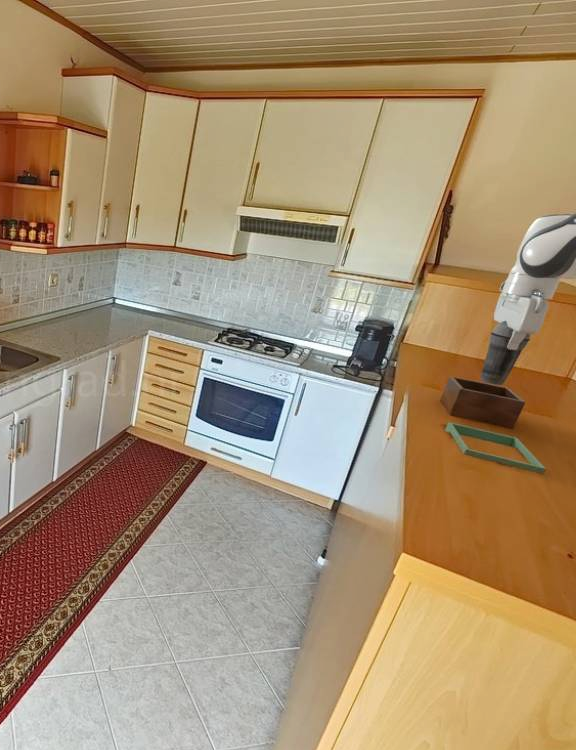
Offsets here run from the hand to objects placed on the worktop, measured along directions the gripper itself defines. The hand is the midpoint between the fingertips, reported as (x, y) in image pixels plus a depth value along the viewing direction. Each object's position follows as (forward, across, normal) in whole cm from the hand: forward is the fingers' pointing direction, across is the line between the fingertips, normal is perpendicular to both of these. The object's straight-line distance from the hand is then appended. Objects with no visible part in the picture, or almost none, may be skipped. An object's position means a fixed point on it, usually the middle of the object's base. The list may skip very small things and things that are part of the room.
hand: (505, 345), depth 118 cm
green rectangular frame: (+18, -30, +4) cm, 35 cm away
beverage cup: (+9, 0, 0) cm, 9 cm away
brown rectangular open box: (+18, 0, +1) cm, 18 cm away
